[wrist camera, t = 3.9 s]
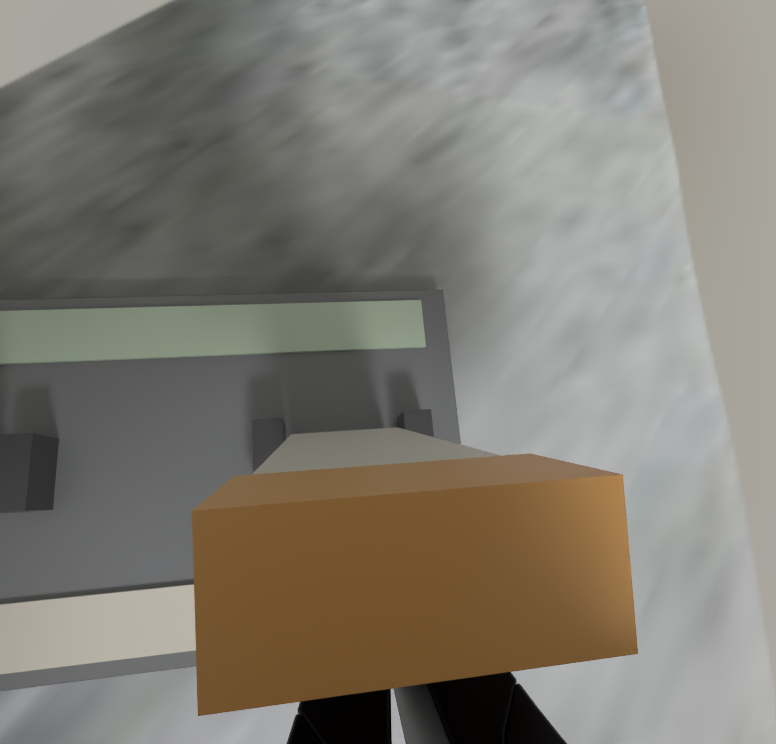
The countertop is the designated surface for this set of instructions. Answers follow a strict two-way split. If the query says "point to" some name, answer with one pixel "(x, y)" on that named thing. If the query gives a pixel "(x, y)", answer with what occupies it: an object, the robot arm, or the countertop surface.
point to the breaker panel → (172, 447)
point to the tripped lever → (403, 568)
